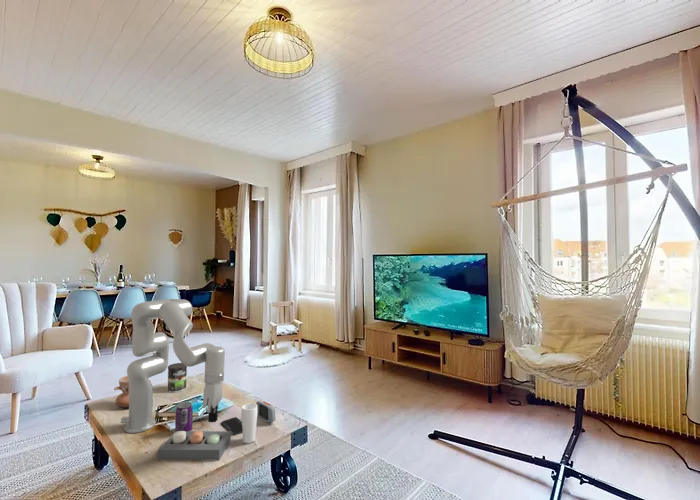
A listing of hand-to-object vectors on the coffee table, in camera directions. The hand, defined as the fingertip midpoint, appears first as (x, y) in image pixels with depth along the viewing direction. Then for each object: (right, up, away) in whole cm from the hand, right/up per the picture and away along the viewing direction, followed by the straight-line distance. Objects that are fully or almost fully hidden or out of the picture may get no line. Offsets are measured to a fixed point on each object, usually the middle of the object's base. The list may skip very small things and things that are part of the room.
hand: (212, 421), depth 143 cm
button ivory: (-14, -9, -1) cm, 16 cm away
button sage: (0, -10, 0) cm, 10 cm away
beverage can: (-19, -12, +14) cm, 27 cm away
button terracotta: (-7, -9, 0) cm, 11 cm away
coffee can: (-46, -12, +62) cm, 78 cm away
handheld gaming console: (+16, -13, +26) cm, 33 cm away
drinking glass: (+13, -12, +7) cm, 19 cm away
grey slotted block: (-7, -12, 0) cm, 14 cm away
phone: (+3, -13, +19) cm, 23 cm away
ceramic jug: (-60, -12, +41) cm, 74 cm away
